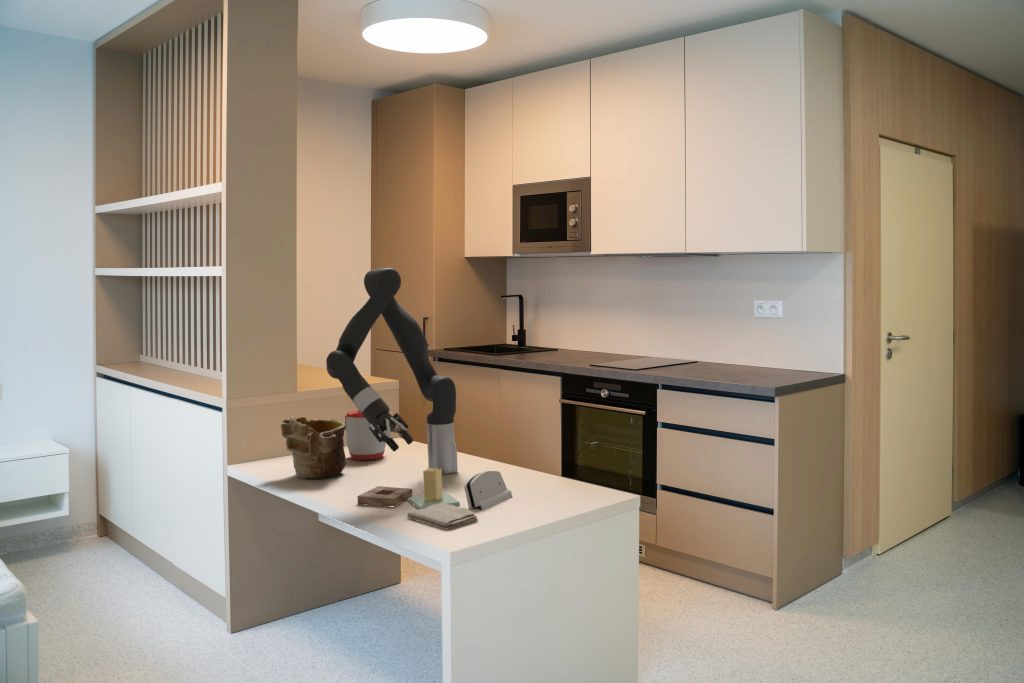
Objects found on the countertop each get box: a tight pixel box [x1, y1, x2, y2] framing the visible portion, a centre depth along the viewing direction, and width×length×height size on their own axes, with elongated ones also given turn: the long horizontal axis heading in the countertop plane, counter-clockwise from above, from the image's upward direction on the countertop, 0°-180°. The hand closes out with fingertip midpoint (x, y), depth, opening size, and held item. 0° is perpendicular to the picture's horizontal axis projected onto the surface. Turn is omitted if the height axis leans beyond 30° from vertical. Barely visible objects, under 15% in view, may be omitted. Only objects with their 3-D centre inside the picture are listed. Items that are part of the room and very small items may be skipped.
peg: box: [422, 468, 443, 502], centre depth 244 cm, size 4×4×9 cm
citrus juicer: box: [343, 410, 387, 461], centre depth 309 cm, size 16×17×20 cm
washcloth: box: [407, 503, 479, 531], centre depth 228 cm, size 12×18×3 cm, turn 46°
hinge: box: [463, 470, 513, 511], centre depth 244 cm, size 17×5×10 cm, turn 148°
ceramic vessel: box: [280, 415, 347, 480], centre depth 283 cm, size 23×24×25 cm
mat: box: [407, 492, 461, 510], centre depth 245 cm, size 12×12×1 cm
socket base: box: [357, 485, 414, 507], centre depth 249 cm, size 12×12×2 cm
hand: (404, 446), depth 247 cm, fingers open, 8 cm apart
